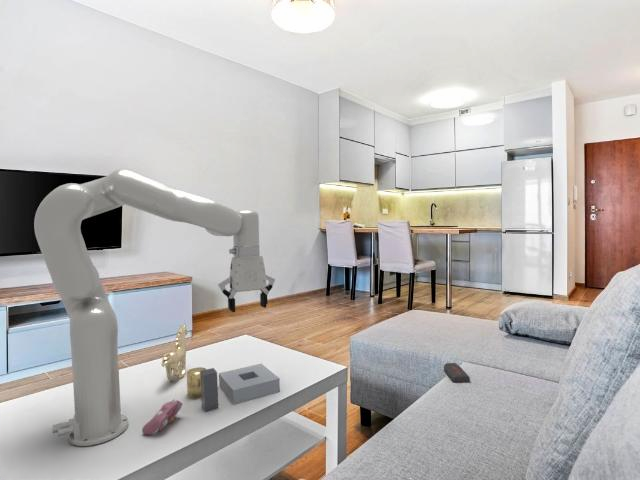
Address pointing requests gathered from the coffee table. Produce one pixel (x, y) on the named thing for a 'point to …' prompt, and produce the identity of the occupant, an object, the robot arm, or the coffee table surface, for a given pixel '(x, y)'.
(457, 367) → the usb drive
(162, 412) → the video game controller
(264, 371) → the socket block
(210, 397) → the square bit
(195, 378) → the round bit
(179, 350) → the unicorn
